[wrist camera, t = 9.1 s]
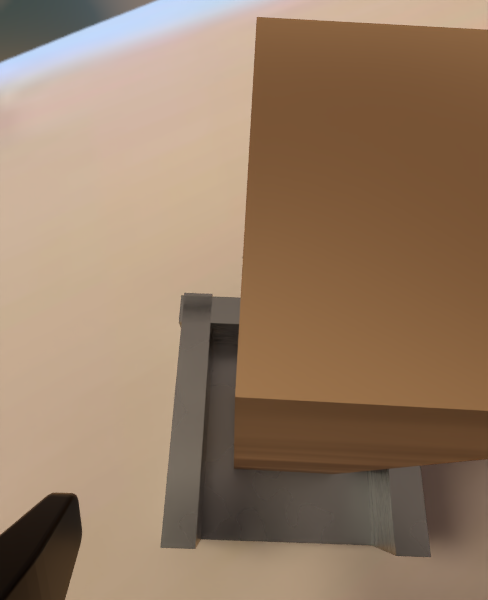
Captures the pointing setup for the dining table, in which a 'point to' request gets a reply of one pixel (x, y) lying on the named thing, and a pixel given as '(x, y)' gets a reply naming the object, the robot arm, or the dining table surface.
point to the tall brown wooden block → (364, 249)
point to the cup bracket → (261, 483)
